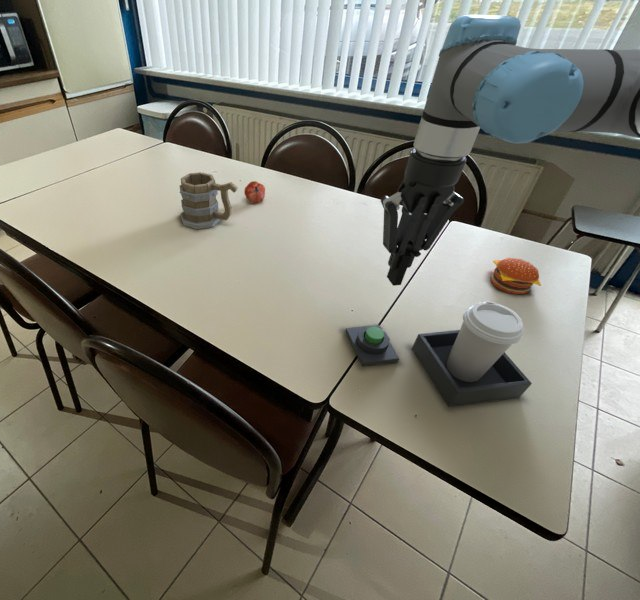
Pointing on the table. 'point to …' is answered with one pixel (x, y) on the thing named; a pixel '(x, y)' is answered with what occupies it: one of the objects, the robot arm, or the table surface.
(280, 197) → the table surface
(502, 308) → the coffee cup
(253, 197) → the pomegranate
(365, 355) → the panel
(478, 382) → the basket
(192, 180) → the tankard
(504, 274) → the hamburger
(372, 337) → the button
